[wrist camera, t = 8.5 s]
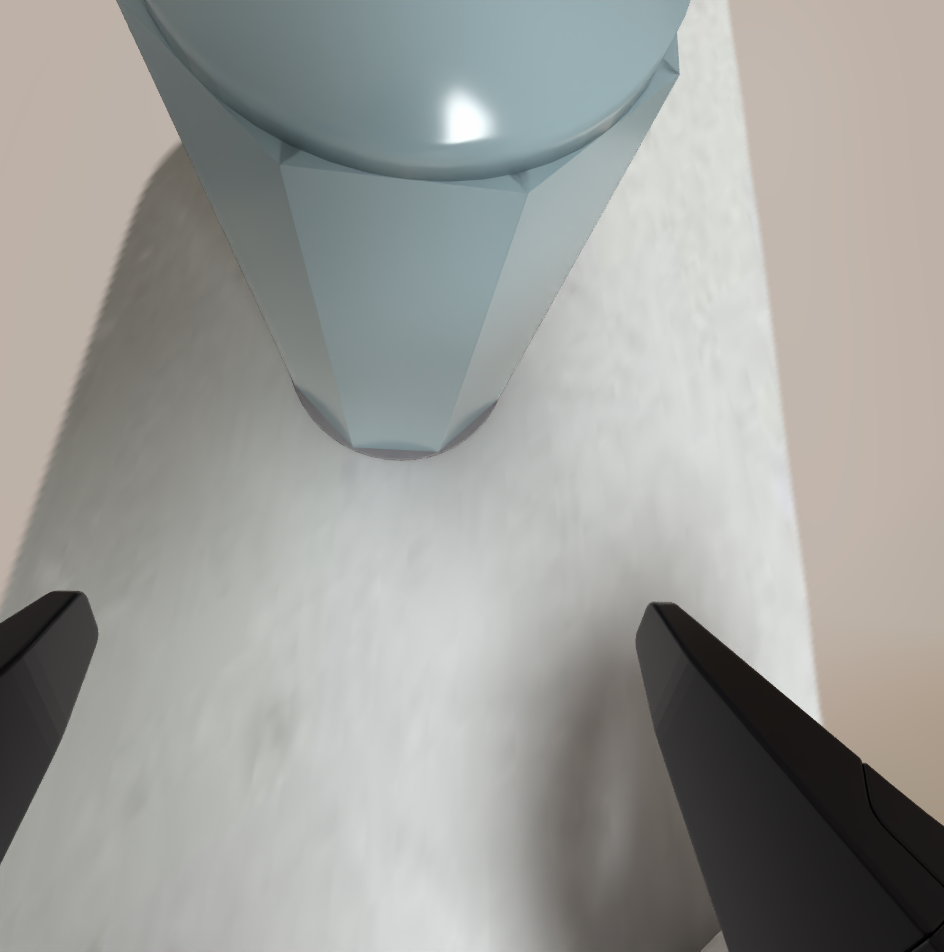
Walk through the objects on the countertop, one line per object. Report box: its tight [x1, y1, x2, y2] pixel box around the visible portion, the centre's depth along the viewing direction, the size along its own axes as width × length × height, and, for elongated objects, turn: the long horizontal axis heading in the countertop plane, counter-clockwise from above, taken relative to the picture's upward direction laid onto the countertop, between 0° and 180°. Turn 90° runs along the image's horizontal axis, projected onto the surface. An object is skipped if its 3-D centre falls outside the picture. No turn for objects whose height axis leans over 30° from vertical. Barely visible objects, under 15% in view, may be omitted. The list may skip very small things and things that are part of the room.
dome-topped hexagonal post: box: [116, 0, 690, 452], centre depth 12 cm, size 6×6×13 cm
